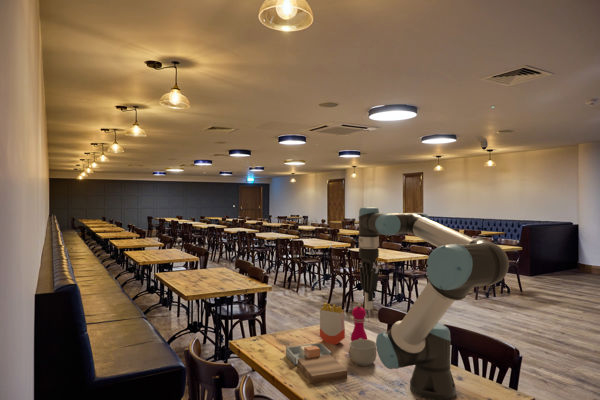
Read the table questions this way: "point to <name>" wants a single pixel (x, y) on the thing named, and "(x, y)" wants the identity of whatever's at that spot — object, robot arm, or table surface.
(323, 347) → the tray
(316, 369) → the walnut board
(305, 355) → the cream square block
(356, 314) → the pepper mill
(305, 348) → the orange square block
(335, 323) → the french fries container
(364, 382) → the table surface
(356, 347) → the teacup
